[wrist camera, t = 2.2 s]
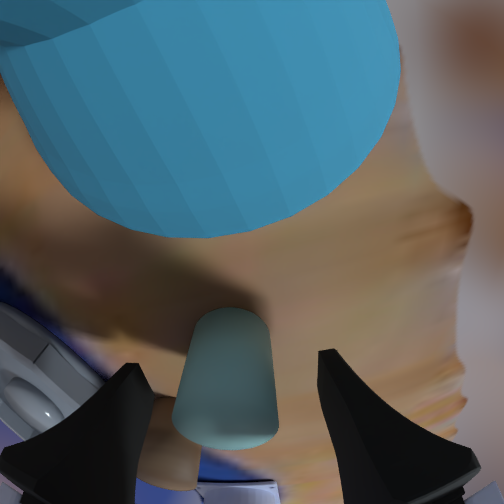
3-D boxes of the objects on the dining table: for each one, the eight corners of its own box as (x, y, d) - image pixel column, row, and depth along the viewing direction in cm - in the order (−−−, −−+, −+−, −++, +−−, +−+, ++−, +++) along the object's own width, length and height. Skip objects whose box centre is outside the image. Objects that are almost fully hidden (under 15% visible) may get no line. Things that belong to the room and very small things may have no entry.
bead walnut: (210, 429, 15) (204, 493, 11) (160, 427, 16) (146, 486, 11) (197, 397, 14) (184, 470, 9) (141, 395, 14) (119, 461, 10)
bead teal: (273, 363, 13) (281, 447, 8) (202, 368, 13) (188, 449, 9) (266, 303, 12) (275, 391, 7) (185, 310, 12) (156, 394, 7)
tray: (171, 467, 18) (166, 492, 15) (36, 433, 19) (27, 450, 16) (69, 296, 12) (40, 325, 9) (-50, 300, 12) (-67, 314, 10)
